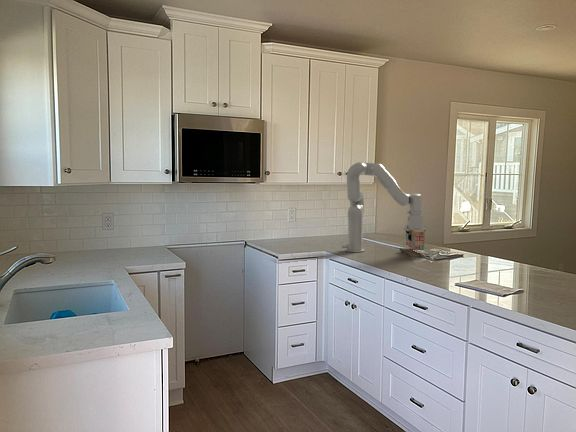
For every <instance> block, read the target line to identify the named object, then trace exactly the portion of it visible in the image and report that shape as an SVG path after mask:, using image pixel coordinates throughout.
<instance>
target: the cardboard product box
mask: <svg viewBox="0 0 576 432" xmlns="http://www.w3.org/2000/svg"><path fill="white" fill-rule="evenodd" d="M425 233H426V231H423V230H412V232H411V241H410V240H409V239H408V234H407V233H406V232H405V245H406V246H407V247H408V248H412V249H414V250H423V251H425V235H426V234H425Z"/></svg>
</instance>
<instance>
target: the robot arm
mask: <svg viewBox="0 0 576 432" xmlns="http://www.w3.org/2000/svg"><path fill="white" fill-rule="evenodd" d="M361 175H362V176H371V177H374V178H375V179H376V181H378V183H380V185H381V186H382V187H383V188H384V189H385V191H386V192H387V193H388V194H389V196H390V197H392V199H393V200H394V201H395V202H396V203H397V204H398V205H399V206H401V207H404V206H407V205H409V211H407V214H408V216H407V224H406V226H404V227H403V228H402V229H403V231H404V232H405V234H406V233H407V234H408V239H409V240H410V241H411V232H412V230H423V231H425V232H426V231H427V230H428V227H427V226H425V222H424V221H425V220H424V215H423V214H422V213H423V212H422V205H423V204H422V199H423V198H422V197H423V196H422V194H420V193H411V194H410V193H405V192H404V191H403V190H402V189H401V188H400V186H399V185H398V183H397V181H396V180H395V178H394V177H393V176H392V174H390V173H389V171H387V170H386V168H385V166H384V165H383V164H382V163H373V162H363V161H362V162H361V161H359V162H356V163H354V164H352V165H351V166H349V168H348V170H347V172H346V189H347V190H346V191H347V192H346V193H347V198H348V201H349V205H350V206H349V207H348V210H347V221H348V223H347V224H348V227H347V228H348V230H347V233H348V235H347V236H348V243H347V244H342V245H341V249H345V251H346V252H349V253H362V252H366V249H365V248H364V247H363V243H364V242H363V233H364V232H363V229H364V227H363V225H364V224H363V214H364V213H365V201H364V199H365V198H364V193H363V191H362V189H361V186H360V183H361V182H360V176H361Z"/></svg>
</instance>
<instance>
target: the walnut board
mask: <svg viewBox="0 0 576 432" xmlns="http://www.w3.org/2000/svg"><path fill="white" fill-rule="evenodd" d="M413 250H414V249H412V248H411V247H400V251H402V252H404V253H405V254H407V255H408V256H410V257H411V258H423V257H422V256H424V255H425V254H421V253H417V252H415V251H413Z"/></svg>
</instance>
